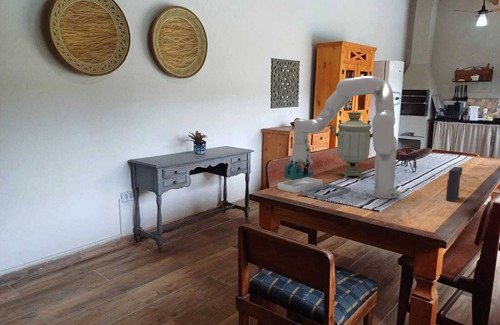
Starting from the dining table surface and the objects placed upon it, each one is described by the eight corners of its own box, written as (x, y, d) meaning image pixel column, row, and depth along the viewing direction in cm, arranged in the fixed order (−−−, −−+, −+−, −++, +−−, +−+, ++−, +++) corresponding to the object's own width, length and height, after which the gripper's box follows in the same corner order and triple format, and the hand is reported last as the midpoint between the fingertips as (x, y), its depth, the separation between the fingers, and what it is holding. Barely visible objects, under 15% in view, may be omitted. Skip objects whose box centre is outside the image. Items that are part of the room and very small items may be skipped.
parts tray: (322, 185, 205) (322, 180, 205) (294, 193, 190) (294, 187, 190) (305, 181, 215) (305, 176, 214) (277, 188, 199) (277, 183, 199)
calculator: (450, 195, 181) (452, 166, 178) (459, 197, 178) (462, 167, 175) (445, 200, 172) (447, 169, 170) (455, 202, 170) (458, 170, 167)
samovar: (381, 173, 235) (384, 111, 228) (374, 181, 212) (377, 113, 205) (335, 169, 248) (337, 111, 241) (324, 177, 226) (326, 112, 218)
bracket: (293, 180, 193) (293, 165, 192) (284, 178, 198) (284, 164, 197) (315, 175, 204) (315, 161, 203) (306, 173, 209) (306, 160, 208)
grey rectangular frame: (350, 191, 192) (350, 188, 192) (324, 199, 178) (324, 196, 177) (328, 186, 203) (328, 183, 203) (301, 193, 188) (301, 190, 188)
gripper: (317, 142, 194) (317, 175, 197) (293, 139, 207) (293, 170, 210) (308, 143, 189) (308, 177, 192) (284, 141, 202) (284, 172, 205)
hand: (300, 173), depth 201 cm, fingers closed on bracket, 7 cm apart
